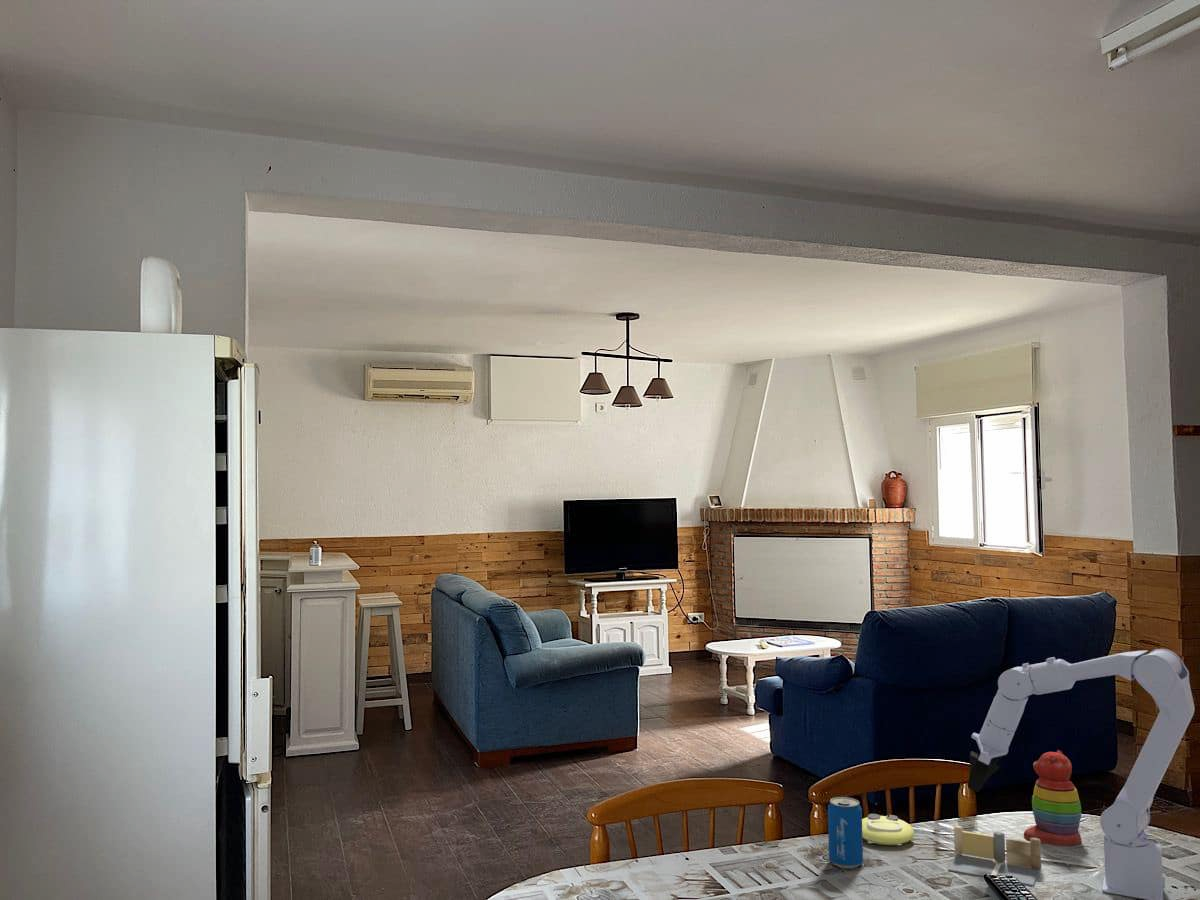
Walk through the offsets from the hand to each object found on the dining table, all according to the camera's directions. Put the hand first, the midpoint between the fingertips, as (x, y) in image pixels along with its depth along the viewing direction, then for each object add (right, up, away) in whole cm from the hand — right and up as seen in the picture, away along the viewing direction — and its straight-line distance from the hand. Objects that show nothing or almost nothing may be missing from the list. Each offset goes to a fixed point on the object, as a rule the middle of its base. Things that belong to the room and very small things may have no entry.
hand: (976, 783), depth 192 cm
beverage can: (-28, -14, -5) cm, 32 cm away
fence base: (+6, -13, -8) cm, 17 cm away
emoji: (-16, -15, +8) cm, 24 cm away
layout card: (+1, -14, -8) cm, 16 cm away
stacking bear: (+20, -15, +8) cm, 26 cm away
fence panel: (-1, -13, -4) cm, 14 cm away
